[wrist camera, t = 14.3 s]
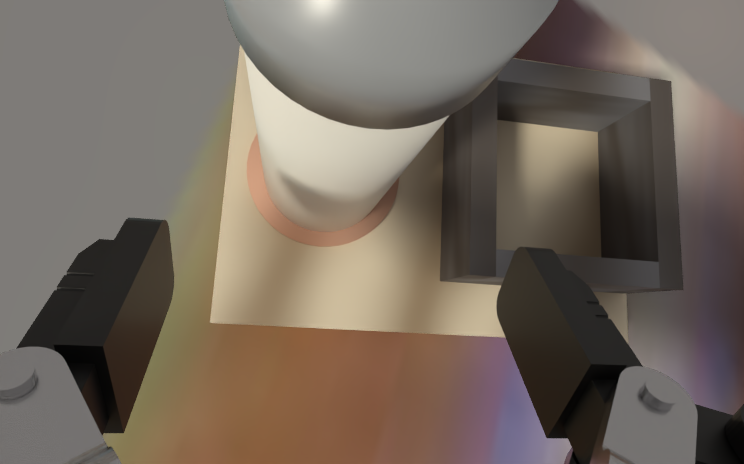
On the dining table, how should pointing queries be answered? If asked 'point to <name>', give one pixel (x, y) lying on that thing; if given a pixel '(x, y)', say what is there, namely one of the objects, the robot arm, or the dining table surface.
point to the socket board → (469, 211)
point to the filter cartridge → (364, 89)
